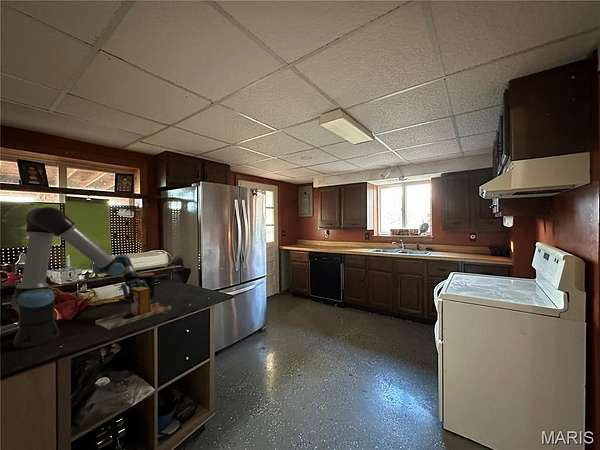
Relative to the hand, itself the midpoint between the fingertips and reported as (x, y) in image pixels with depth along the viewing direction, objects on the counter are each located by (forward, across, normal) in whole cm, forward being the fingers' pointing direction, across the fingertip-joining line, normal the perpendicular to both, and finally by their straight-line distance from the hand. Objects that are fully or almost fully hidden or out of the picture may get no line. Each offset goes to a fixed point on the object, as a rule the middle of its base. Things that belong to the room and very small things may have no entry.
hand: (143, 304), depth 147 cm
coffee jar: (-20, -20, -29) cm, 40 cm away
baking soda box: (+2, 0, -7) cm, 7 cm away
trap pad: (+2, -11, -7) cm, 13 cm away
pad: (+2, +14, -7) cm, 16 cm away
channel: (+2, +2, -7) cm, 8 cm away
